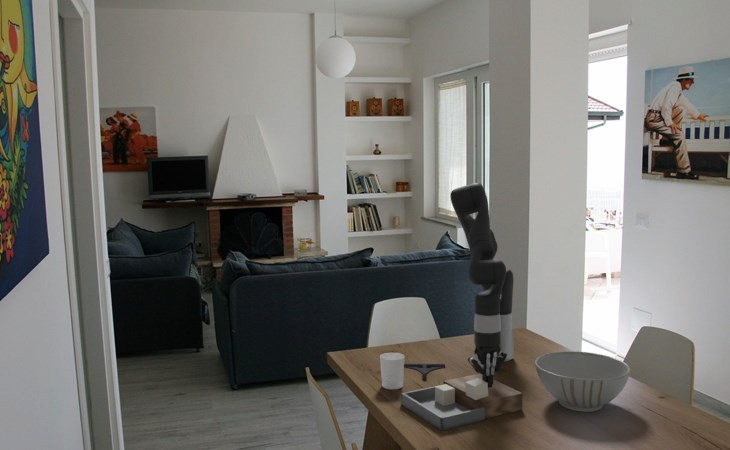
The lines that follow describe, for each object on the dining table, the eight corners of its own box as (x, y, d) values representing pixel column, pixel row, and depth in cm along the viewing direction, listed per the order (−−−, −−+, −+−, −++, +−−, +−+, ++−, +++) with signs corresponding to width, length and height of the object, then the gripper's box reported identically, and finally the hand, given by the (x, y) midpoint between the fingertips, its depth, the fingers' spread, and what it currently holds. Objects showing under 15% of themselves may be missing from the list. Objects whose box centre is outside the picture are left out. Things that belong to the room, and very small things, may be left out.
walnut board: (480, 388, 207) (480, 373, 207) (522, 409, 190) (522, 393, 189) (443, 396, 201) (443, 380, 201) (483, 419, 183) (483, 401, 183)
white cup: (407, 383, 214) (407, 353, 213) (400, 391, 206) (400, 360, 205) (384, 380, 216) (384, 351, 215) (377, 388, 209) (376, 358, 208)
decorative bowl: (581, 429, 176) (582, 386, 174) (515, 397, 199) (515, 359, 198) (650, 410, 188) (651, 369, 187) (580, 382, 211) (580, 346, 210)
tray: (441, 395, 202) (441, 385, 201) (484, 420, 183) (484, 408, 182) (401, 404, 195) (401, 393, 195) (441, 430, 176) (441, 418, 176)
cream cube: (445, 384, 197) (435, 386, 196) (454, 388, 194) (443, 390, 192) (446, 398, 198) (435, 400, 196) (454, 403, 194) (443, 405, 192)
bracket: (403, 381, 217) (403, 373, 217) (404, 367, 232) (404, 360, 231) (446, 382, 216) (446, 374, 215) (445, 368, 230) (445, 360, 230)
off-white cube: (478, 391, 191) (477, 378, 190) (488, 396, 187) (487, 382, 186) (465, 395, 188) (465, 382, 188) (475, 400, 185) (475, 386, 184)
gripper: (497, 322, 194) (497, 379, 195) (460, 328, 188) (461, 387, 189) (514, 328, 187) (514, 386, 189) (476, 334, 181) (477, 395, 183)
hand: (487, 386), depth 189 cm, fingers closed
